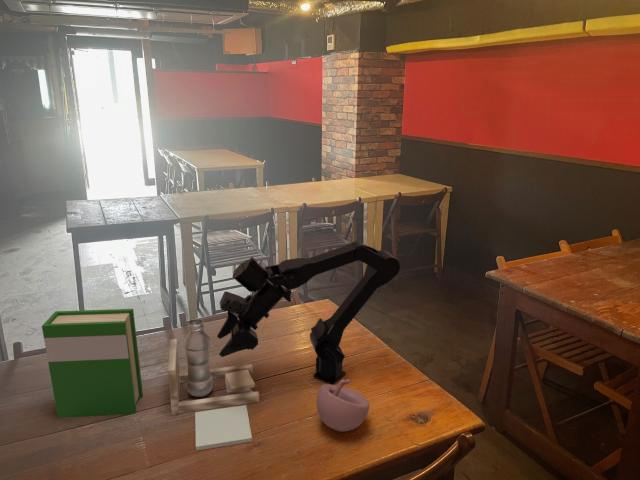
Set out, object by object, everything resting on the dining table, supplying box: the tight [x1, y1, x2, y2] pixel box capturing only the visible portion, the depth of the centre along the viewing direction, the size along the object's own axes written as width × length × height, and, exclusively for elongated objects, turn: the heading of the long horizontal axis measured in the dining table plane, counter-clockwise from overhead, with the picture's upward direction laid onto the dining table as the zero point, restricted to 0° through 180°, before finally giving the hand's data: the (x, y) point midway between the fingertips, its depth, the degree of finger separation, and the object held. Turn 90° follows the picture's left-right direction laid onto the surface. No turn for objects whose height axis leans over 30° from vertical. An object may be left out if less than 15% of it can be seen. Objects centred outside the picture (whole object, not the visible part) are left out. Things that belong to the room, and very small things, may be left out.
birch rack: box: [167, 338, 260, 416], centre depth 124 cm, size 21×15×12 cm
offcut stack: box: [224, 369, 256, 396], centre depth 127 cm, size 7×8×3 cm
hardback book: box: [41, 308, 144, 419], centre depth 116 cm, size 18×7×24 cm, turn 96°
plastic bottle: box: [183, 318, 214, 398], centre depth 122 cm, size 6×7×20 cm
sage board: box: [194, 404, 253, 452], centre depth 112 cm, size 12×12×1 cm
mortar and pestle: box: [316, 378, 370, 432], centre depth 112 cm, size 12×12×12 cm
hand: (219, 346), depth 122 cm, fingers open, 9 cm apart
